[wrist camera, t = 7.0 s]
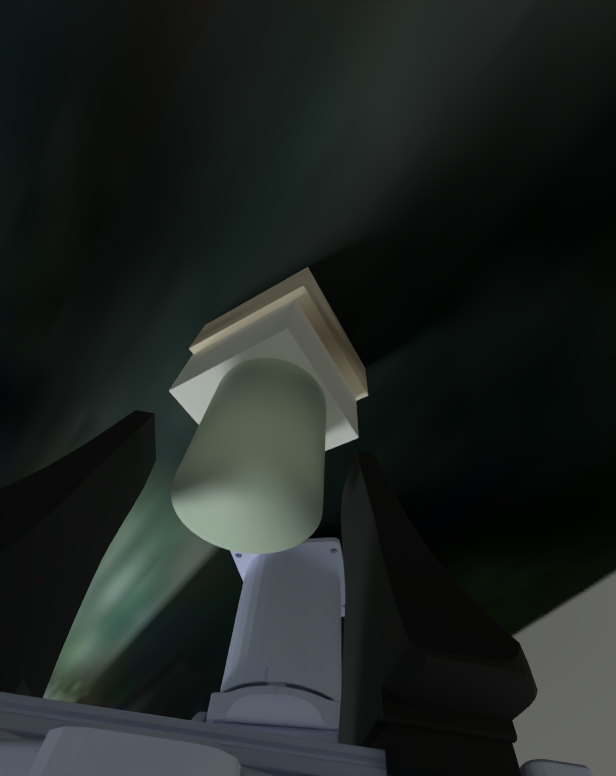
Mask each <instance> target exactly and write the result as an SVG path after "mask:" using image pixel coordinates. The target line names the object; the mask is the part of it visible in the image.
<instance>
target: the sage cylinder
mask: <svg viewBox="0 0 616 776" xmlns="http://www.w3.org/2000/svg"><path fill="white" fill-rule="evenodd" d="M326 412H327V406H326V399H325V395H324V393H323V390H322V389H321V387H320V385H319V384H318V382H317V381H316V380H315V379H314V378H313V377H312V376H311V375H310V374H309V373H308V372H307V371H305V370H304V369H303V368H301V367H299V366H297V365H295V364H293V363H291V362H288V361H285V360H281V359H276V358H257V359H251V360H248V361H244V362H242V363H240V364H238V365H236V366H235V367H233V368H232V369H230V370H229V371H228V372H227V373H226V374H225V375H224V376H223V378H222V379H221V381H220V383H219V385H218V387H217V389H216V391H215V393H214V395H213V397H212V399H211V401H210V403H209V406H208V408H207V410H206V412H205V414H204V416H203V418H202V420H201V422H200V424H199V426H198V429H197V431H196V433H195V435H194V437H193V439H192V441H191V443H190V445H189V447H188V449H187V452H186V454H185V456H184V458H183V460H182V462H181V464H180V466H179V468H178V470H177V472H176V475H175V477H174V479H173V482H172V486H171V500H172V504H173V507H174V509H175V511H176V513H177V515H178V517H179V518H180V519H181V521H182V522H183V523H184V524H185V525H186V526H187V527H188V528H189V529H190V530H191V531H192V532H194V533H195V534H196V535H198V536H199V537H201V538H202V539H204V540H206V541H208V542H209V543H212V544H214V545H216V546H219V547H222V548H224V549H228V550H232V551H236V552H242V553H251V554H265V553H274V552H280V551H283V550H287V549H290V548H292V547H295V546H297V545H298V544H300V543H302V542H303V541H305V540H306V539H308V538H309V537H310V536H311V535H312V534H313V533H314V531H315V530H316V529H317V527H318V525H319V523H320V521H321V518H322V512H323V491H324V465H325V439H326Z"/></svg>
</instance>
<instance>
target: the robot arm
mask: <svg viewBox="0 0 616 776" xmlns="http://www.w3.org/2000/svg"><path fill="white" fill-rule="evenodd" d="M155 460H156V447H155V415H154V413H148V412H143V411H138V410H136V411H134V412H133V413H131V414H129V415H128V416H126V417H125V418H123V419H122V420H120V421H119V422H117V423H116V424H115V425H113V426H112V427H110V428H109V429H107V430H106V431H104V432H103V433H101V434H100V435H98V436H97V437H95V438H93V439H92V440H90V441H89V442H87V443H86V444H84V445H83V446H81V447H79V448H78V449H76V450H75V451H73V452H71V453H69V454H68V455H66V456H64V457H63V458H61V459H59V460H58V461H56V462H54V463H52V464H50V465H49V466H47V467H45V468H43V469H41V470H39V471H37V472H35V473H33V474H31V475H29V476H27V477H25V478H23V479H21V480H19V481H17V482H14V483H12V484H10V485H8V486H5V487H3V488H1V489H0V776H593V775H592V773H591V770H590V769H589V768H588V767H586V766H584V765H579V764H572V763H566V762H559V761H553V760H546V759H536V760H530V761H528V762H526V763H524V764H523V765H522V766H521V767H520V768H519V765H518V762H517V758H516V755H515V751H514V748H513V745H512V743H515V742H516V741H517V735H516V732H515V728H514V725H513V722H512V720H513V719H514V718H515V717H517V716H518V715H519V714H520V713H521V712H523V711H524V710H525V709H526V708H527V707H529V706H530V704H531V703H532V702H533V701H534V700H535V698H536V695H537V687H536V684H535V681H534V679H533V676H532V673H531V670H530V667H529V664H528V662H527V659H526V657H525V655H524V653H523V650H522V648H521V646H520V643H519V642H518V641H516V640H515V639H514V638H513V637H512V636H511V635H510V634H509V633H508V632H507V631H506V630H504V629H503V628H502V627H501V626H500V625H499V624H498V623H497V622H496V621H494V620H493V619H492V618H491V617H490V616H489V615H488V614H487V613H486V612H485V611H484V610H483V609H482V608H481V607H480V606H479V605H478V604H477V603H476V602H475V601H474V600H473V599H472V598H471V597H470V596H469V595H468V594H467V593H466V592H465V591H464V590H463V589H462V588H461V587H460V585H459V584H458V583H457V582H456V581H455V580H454V579H453V577H452V576H451V575H450V574H449V573H448V572H447V571H446V569H445V568H444V567H443V566H442V565H441V564H440V562H439V561H438V560H437V559H436V557H435V556H434V555H433V553H432V552H431V551H430V549H429V548H428V547H427V545H426V544H425V543H424V541H423V540H422V538H421V537H420V535H419V534H418V532H417V531H416V529H415V528H414V526H413V525H412V523H411V522H410V520H409V518H408V517H407V515H406V513H405V512H404V510H403V508H402V507H401V505H400V503H399V501H398V499H397V498H396V496H395V494H394V492H393V490H392V489H391V487H390V485H389V483H388V481H387V479H386V477H385V475H384V473H383V471H382V468H381V466H380V464H379V462H378V460H377V458H376V456H375V455H374V454H371V453H366V452H361V451H356V453H355V456H354V459H353V463H352V466H351V469H350V472H349V475H348V478H347V481H346V484H345V487H344V490H343V493H342V509H341V531H342V548H343V555H342V550H341V544H340V541H339V540H338V539H337V538H335V537H329V538H310V539H306V540H305V541H303V542H302V543H300V544H298V545H297V546H295V547H292V548H290V549H287V550H283V551H280V552H274V553H265V554H251V553H242V552H236V551H232V550H230V551H231V554H232V556H233V558H234V561H235V563H236V565H237V568H238V570H239V573H240V575H241V577H242V580H243V582H244V583H243V587H242V592H241V597H240V601H239V606H238V611H237V616H236V620H235V625H234V630H233V634H232V639H231V644H230V648H229V653H228V658H227V663H226V667H225V672H224V677H223V681H222V686H221V691H220V693H212V695H211V699H210V704H209V708H208V713H207V712H199V713H197V714H196V715H195V716H194V717H193V719H192V721H190V720H183V719H176V718H170V717H163V716H157V715H150V714H143V713H137V712H130V711H124V710H117V709H110V708H104V707H97V706H91V705H84V704H77V703H71V702H64V701H58V700H51V699H44V698H43V695H44V693H45V690H46V688H47V685H48V683H49V680H50V678H51V675H52V673H53V670H54V668H55V665H56V662H57V660H58V657H59V655H60V653H61V650H62V648H63V645H64V643H65V641H66V638H67V636H68V633H69V631H70V629H71V626H72V624H73V622H74V619H75V617H76V615H77V612H78V610H79V608H80V606H81V603H82V601H83V599H84V597H85V595H86V592H87V590H88V588H89V586H90V584H91V581H92V579H93V577H94V575H95V573H96V571H97V569H98V566H99V564H100V562H101V560H102V558H103V556H104V554H105V552H106V551H107V549H108V547H109V545H110V543H111V542H112V540H113V538H114V537H115V535H116V533H117V532H118V530H119V528H120V527H121V525H122V523H123V522H124V520H125V518H126V517H127V515H128V513H129V512H130V510H131V508H132V507H133V505H134V503H135V502H136V500H137V498H138V496H139V495H140V493H141V491H142V490H143V488H144V486H145V484H146V482H147V479H148V477H149V475H150V472H151V470H152V468H153V465H154V463H155ZM341 616H345V623H344V648H343V668H342V686H341Z"/></svg>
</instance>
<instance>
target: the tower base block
mask: <svg viewBox="0 0 616 776" xmlns="http://www.w3.org/2000/svg"><path fill="white" fill-rule="evenodd" d="M294 299H296V300H297V302H298V304H299V305H300V307H301V309H302V310H303V312H304V314H305V315H306V317H307V318H308V320H309V322H310V323H311V325H312V327H313V328H314V330H315V331H316V333H317V335H318V336H319V338H320V340H321V341H322V343H323V345H324V346H325V348H326V349H327V351H328V353H329V354H330V356H331V358H332V359H333V361H334V362H335V364H336V366H337V367H338V369H339V371H340V372H341V374H342V376H343V377H344V379H345V380H346V382H347V384H348V385H349V387H350V389H351V390H352V392H353V393H354V395H355V397H356V400H359V399H361V398H364V397H366V396H368V390H367V382H366V373H365V367H364V365H363V364H362V362H361V360H360V358H359V356H358V355H357V353H356V351H355V349H354V348H353V346H352V344H351V342H350V341H349V339H348V337H347V335H346V334H345V332H344V330H343V328H342V326H341V325H340V323H339V321H338V319H337V318H336V316H335V314H334V312H333V311H332V309H331V307H330V305H329V304H328V302H327V300H326V298H325V296H324V295H323V293H322V291H321V289H320V288H319V286H318V284H317V282H316V281H315V279H314V277H313V275H312V274H311V272H310V270H309V268H308V267H307V268H305V269H303V270H302V271H300V272H298V273H296V274H295V275H293V276H291V277H289V278H287V279H286V280H284V281H282V282H280V283H279V284H277V285H275V286H273V287H272V288H270V289H268V290H266V291H264V292H263V293H261V294H259V295H257V296H256V297H254V298H252V299H250V300H249V301H247V302H245V303H243V304H241V305H240V306H238V307H236V308H234V309H233V310H231V311H229V312H227V313H226V314H224V315H222V316H220V317H218V318H217V319H215V320H213V321H211V322H210V323H208V324H206V325H205V326H204V328H203V329H202V331H201V332H200V333H199V335H198V336H197V338H196V339H195V341H194V342H193V343H192V345H191V346H190V348H189V349H190V351H191V352H192V353H193V354H195V353H197V352H199V351H201V350H203V349H204V348H206V347H208V346H210V345H212V344H214V343H215V342H217V341H219V340H221V339H223V338H224V337H226V336H228V335H230V334H232V333H234V332H235V331H237V330H239V329H241V328H243V327H244V326H246V325H248V324H250V323H252V322H254V321H255V320H257V319H259V318H261V317H263V316H265V315H266V314H268V313H270V312H272V311H274V310H275V309H277V308H279V307H281V306H283V305H285V304H286V303H288V302H290V301H292V300H294Z"/></svg>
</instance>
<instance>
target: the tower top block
mask: <svg viewBox="0 0 616 776" xmlns="http://www.w3.org/2000/svg"><path fill="white" fill-rule="evenodd" d="M257 358H276V359H281V360H285V361H288V362H291V363H293V364H295V365H297V366H299V367H301V368H303V369H304V370H305V371H307V372H308V373H309V374H310V375H311V376H312V377H313V378H314V379H315V380H316V381H317V382H318V384H319V385H320V387H321V389H322V390H323V393H324V395H325V399H326V406H327V412H326V439H325V451H326V450H329V449H331V448H334V447H336V446H339V445H341V444H344V443H346V442H349V441H351V440H354V439H356V438H359V437H358V423H357V408H356V397H355V395H354V393H353V392H352V390H351V389H350V387H349V385H348V384H347V382H346V380H345V379H344V377H343V376H342V374H341V372H340V371H339V369H338V367H337V366H336V364H335V362H334V361H333V359H332V358H331V356H330V354H329V353H328V351H327V349H326V348H325V346H324V345H323V343H322V341H321V340H320V338H319V336H318V335H317V333H316V331H315V330H314V328H313V327H312V325H311V323H310V322H309V320H308V318H307V317H306V315H305V314H304V312H303V310H302V309H301V307H300V305H299V304H298V302H297V300H296V299H294V300H292V301H290V302H288V303H286V304H285V305H283V306H281V307H279V308H277V309H275V310H274V311H272V312H270V313H268V314H266V315H265V316H263V317H261V318H259V319H257V320H255V321H254V322H252V323H250V324H248V325H246V326H244V327H243V328H241V329H239V330H237V331H235V332H234V333H232V334H230V335H228V336H226V337H224V338H223V339H221V340H219V341H217V342H215V343H214V344H212V345H210V346H208V347H206V348H204V349H203V350H201V351H199V352H197V353H195V354H194V355H192V356H191V358H190V359H189V361H188V362H187V364H186V366H185V367H184V369H183V370H182V372H181V373H180V375H179V376H178V378H177V379H176V381H175V382H174V384H173V385H172V387H171V388H170V390H169V392H170V393H171V394H172V395H173V396H174V397H175V398H176V399H177V401H178V402H179V403H180V404H181V405H182V406H183V407H184V409H185V410H186V411H187V412H188V413H189V414H190V415H191V416H192V418H193V419H194V420H195V421H196V422H197V423H198V424H200V422H201V420H202V418H203V416H204V414H205V412H206V410H207V408H208V406H209V403H210V401H211V399H212V397H213V395H214V393H215V391H216V389H217V387H218V385H219V383H220V381H221V379H222V378H223V376H224V375H225V374H226V373H227V372H228V371H229V370H230V369H232V368H233V367H235V366H236V365H238V364H240V363H242V362H244V361H248V360H251V359H257Z"/></svg>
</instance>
